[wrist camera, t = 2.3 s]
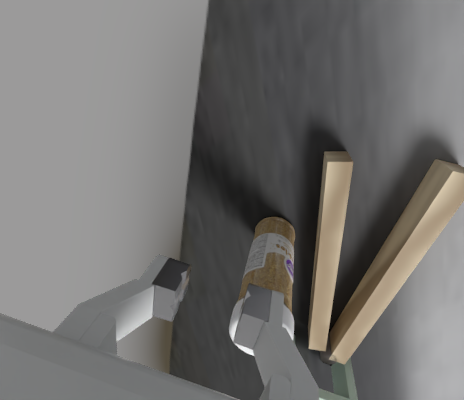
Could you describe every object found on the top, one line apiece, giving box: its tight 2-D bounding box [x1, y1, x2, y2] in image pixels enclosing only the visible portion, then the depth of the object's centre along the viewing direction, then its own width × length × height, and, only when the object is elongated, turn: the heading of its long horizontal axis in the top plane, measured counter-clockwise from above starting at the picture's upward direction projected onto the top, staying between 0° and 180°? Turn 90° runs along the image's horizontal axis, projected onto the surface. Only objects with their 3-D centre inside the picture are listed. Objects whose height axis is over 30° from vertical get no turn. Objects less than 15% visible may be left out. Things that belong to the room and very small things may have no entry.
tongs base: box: [320, 159, 464, 364], centre depth 28 cm, size 3×27×3 cm, turn 169°
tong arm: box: [308, 151, 353, 351], centre depth 28 cm, size 2×24×3 cm, turn 4°
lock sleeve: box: [293, 335, 358, 400], centre depth 34 cm, size 8×4×7 cm, turn 79°
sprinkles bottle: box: [229, 217, 295, 356], centre depth 24 cm, size 5×5×14 cm
